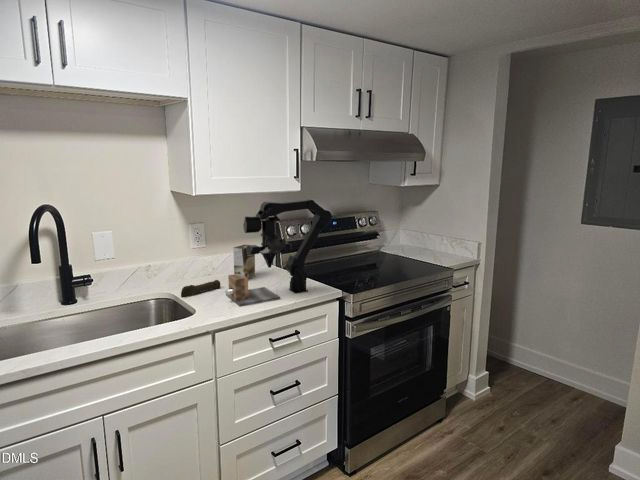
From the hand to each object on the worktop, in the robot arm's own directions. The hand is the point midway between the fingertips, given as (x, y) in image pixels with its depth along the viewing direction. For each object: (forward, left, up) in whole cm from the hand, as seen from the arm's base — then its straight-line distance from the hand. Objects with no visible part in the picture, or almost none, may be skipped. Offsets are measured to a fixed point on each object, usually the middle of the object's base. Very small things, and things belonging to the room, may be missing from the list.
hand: (269, 267), depth 183 cm
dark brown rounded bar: (+25, -18, -12) cm, 33 cm away
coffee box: (0, -29, -12) cm, 31 cm away
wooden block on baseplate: (+8, 0, -12) cm, 14 cm away
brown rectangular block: (+15, 0, -11) cm, 19 cm away
